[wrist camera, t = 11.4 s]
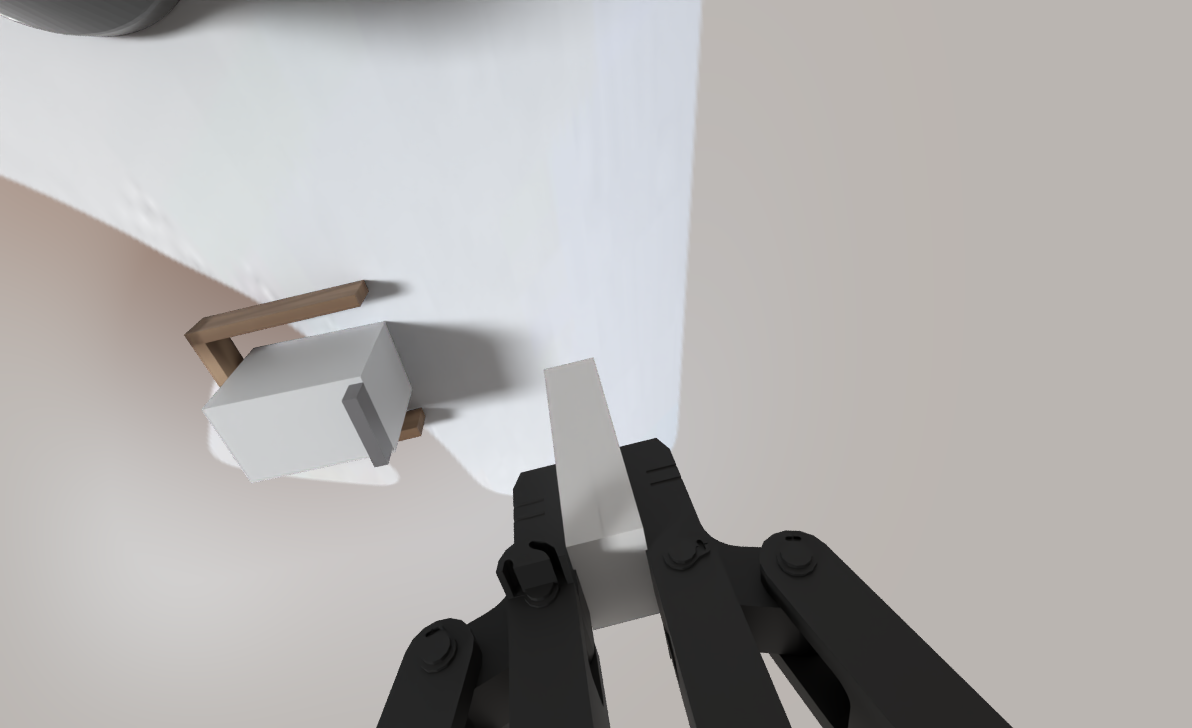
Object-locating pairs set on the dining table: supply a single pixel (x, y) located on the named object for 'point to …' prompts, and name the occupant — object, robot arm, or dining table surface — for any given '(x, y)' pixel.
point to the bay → (216, 330)
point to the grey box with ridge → (313, 403)
